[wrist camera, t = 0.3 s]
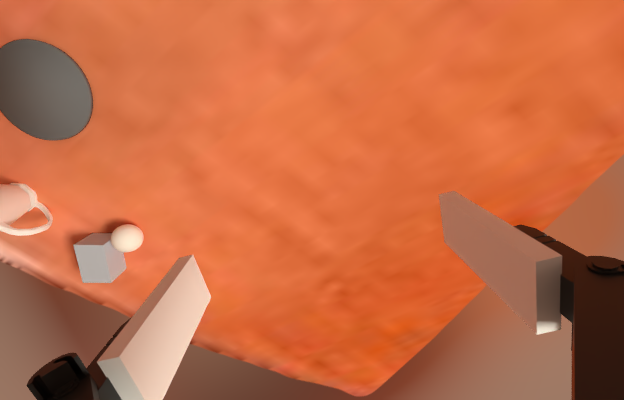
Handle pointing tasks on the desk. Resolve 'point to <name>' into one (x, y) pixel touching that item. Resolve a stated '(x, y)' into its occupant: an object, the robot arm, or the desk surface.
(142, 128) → the desk surface
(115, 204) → the desk surface
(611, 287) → the robot arm
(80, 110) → the coaster
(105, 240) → the greyblue block
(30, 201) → the cup
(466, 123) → the desk surface
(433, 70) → the desk surface
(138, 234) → the ball
